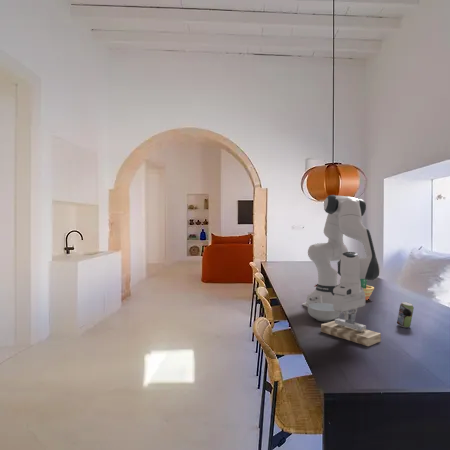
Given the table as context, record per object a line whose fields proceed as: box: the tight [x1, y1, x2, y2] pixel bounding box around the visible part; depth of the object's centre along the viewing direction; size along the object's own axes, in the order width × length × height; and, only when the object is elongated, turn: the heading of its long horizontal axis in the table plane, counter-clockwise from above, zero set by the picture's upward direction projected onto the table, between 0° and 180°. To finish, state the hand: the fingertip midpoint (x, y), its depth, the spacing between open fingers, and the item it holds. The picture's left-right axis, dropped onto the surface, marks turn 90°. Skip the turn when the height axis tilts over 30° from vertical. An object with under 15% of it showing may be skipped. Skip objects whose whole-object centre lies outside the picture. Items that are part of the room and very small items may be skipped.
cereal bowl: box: [307, 303, 341, 323], centre depth 187 cm, size 17×17×7 cm
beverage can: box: [396, 301, 415, 329], centre depth 175 cm, size 6×7×12 cm
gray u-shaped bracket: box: [334, 311, 367, 333], centre depth 160 cm, size 14×3×10 cm, turn 37°
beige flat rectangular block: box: [320, 320, 382, 347], centre depth 160 cm, size 24×10×4 cm, turn 37°
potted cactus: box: [360, 279, 375, 301], centre depth 237 cm, size 15×15×25 cm
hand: (349, 318), depth 160 cm, fingers open, 3 cm apart
